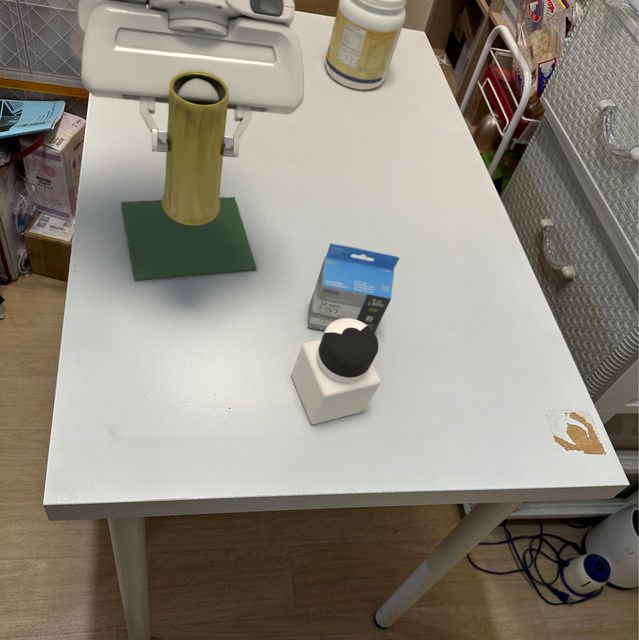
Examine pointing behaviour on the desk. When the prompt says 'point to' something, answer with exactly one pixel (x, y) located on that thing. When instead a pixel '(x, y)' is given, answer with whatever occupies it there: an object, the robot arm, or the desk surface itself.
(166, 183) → the vase
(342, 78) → the supplement tub
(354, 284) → the label tape box
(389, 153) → the desk surface
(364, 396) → the medicine bottle
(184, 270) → the green mat
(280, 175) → the desk surface
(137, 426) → the desk surface
